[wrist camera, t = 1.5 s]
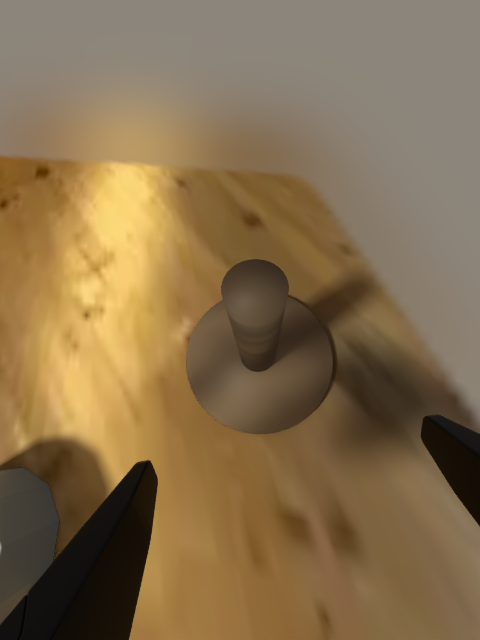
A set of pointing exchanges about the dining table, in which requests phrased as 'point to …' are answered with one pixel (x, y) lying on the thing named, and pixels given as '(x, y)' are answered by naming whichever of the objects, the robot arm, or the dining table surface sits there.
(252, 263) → the brown peg on base
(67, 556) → the robot arm
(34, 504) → the bowl
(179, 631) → the dining table surface
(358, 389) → the dining table surface
